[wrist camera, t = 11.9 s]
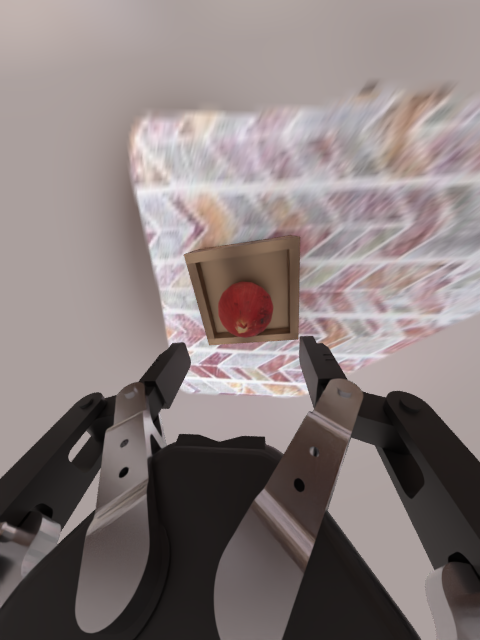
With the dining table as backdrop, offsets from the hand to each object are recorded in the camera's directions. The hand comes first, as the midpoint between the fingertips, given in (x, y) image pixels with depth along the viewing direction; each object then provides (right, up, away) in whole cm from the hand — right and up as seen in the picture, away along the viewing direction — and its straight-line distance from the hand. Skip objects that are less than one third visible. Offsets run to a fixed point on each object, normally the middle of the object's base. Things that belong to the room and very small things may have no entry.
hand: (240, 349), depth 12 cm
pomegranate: (+1, +5, +10) cm, 11 cm away
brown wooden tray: (+1, +7, +13) cm, 15 cm away
